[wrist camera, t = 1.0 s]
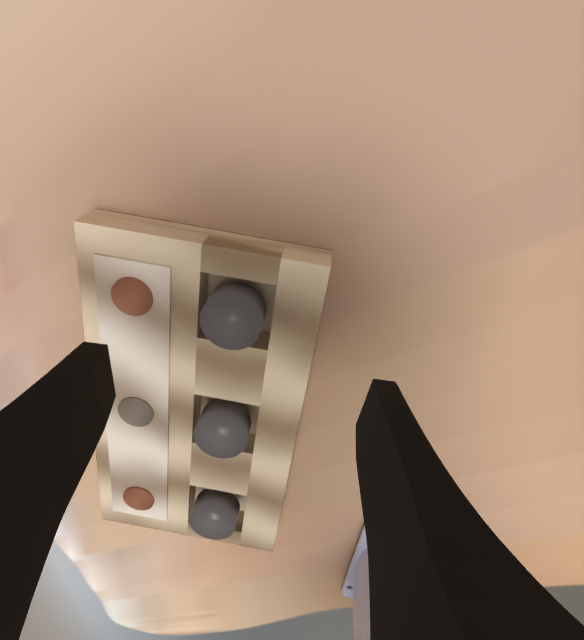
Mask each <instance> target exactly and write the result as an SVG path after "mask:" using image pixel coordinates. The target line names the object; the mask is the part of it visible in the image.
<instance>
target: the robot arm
mask: <svg viewBox="0 0 584 640" xmlns="http://www.w3.org/2000/svg"><path fill="white" fill-rule="evenodd" d="M115 397H116V392H115V386H114V380H113V374H112V368H111V362H110V356H109V350H108V345H107V344H99V343H91V342H83V343H82V344H80V345H79V346H78V347H77V348H76V349H75V350H73V351H72V352H71V353H70V354H69V355H68V356H66V357H65V358H64V359H63V360H62V361H61V362H60V363H58V364H57V365H56V366H55V367H54V368H53V369H51V370H50V371H49V372H48V373H47V374H46V375H44V376H43V377H42V378H41V379H40V380H38V381H37V382H36V383H35V384H33V385H32V386H31V387H30V388H29V389H27V390H26V391H25V392H24V393H22V394H21V395H20V396H19V397H18V398H16V399H15V400H14V401H13V402H11V403H10V404H9V405H7V406H6V407H5V408H3V409H2V410H1V411H0V640H19V637H20V634H21V631H22V628H23V625H24V622H25V619H26V615H27V613H28V610H29V607H30V604H31V600H32V598H33V595H34V592H35V589H36V587H37V583H38V581H39V578H40V575H41V572H42V569H43V567H44V564H45V561H46V558H47V556H48V553H49V550H50V548H51V545H52V542H53V540H54V537H55V534H56V532H57V529H58V527H59V524H60V522H61V519H62V517H63V515H64V513H65V510H66V508H67V506H68V504H69V502H70V500H71V498H72V496H73V494H74V492H75V490H76V488H77V485H78V483H79V481H80V479H81V477H82V475H83V473H84V471H85V469H86V467H87V465H88V463H89V461H90V459H91V457H92V455H93V453H94V451H95V449H96V447H97V445H98V442H99V440H100V438H101V436H102V434H103V432H104V430H105V427H106V424H107V421H108V418H109V416H110V413H111V410H112V407H113V403H114V400H115ZM356 462H357V471H358V479H359V487H360V494H361V502H362V509H363V517H364V524H365V525H364V526H363V529H362V532H361V535H360V538H359V541H358V543H357V546H356V549H355V552H354V555H353V558H352V560H351V563H350V566H349V569H348V572H347V575H346V577H345V580H344V583H343V586H342V589H341V594H342V595H343V596H344V597H348V598H353V640H584V626H583V625H582V624H581V623H580V622H579V621H578V620H577V619H576V618H574V617H573V616H572V615H571V614H570V613H569V612H568V611H567V610H566V609H565V608H564V607H563V606H562V605H561V604H560V603H559V602H558V601H557V600H555V598H554V597H553V596H552V595H551V594H550V593H549V592H548V591H547V590H546V589H545V588H544V587H543V586H542V585H541V584H540V583H539V582H538V581H537V580H536V579H535V578H534V577H533V576H532V575H531V574H530V573H529V572H528V571H527V570H526V568H525V567H524V566H523V565H522V564H521V563H520V562H519V561H518V560H517V558H516V557H515V556H514V555H513V554H512V553H511V552H510V551H509V550H508V548H507V547H506V546H505V545H504V544H503V543H502V542H501V541H500V540H499V538H498V537H497V536H496V535H495V534H494V532H493V531H492V530H491V529H490V528H489V526H488V525H487V524H486V523H485V522H484V520H483V519H482V518H481V516H480V515H479V514H478V513H477V511H476V510H475V509H474V507H473V506H472V505H471V504H470V502H469V501H468V500H467V498H466V497H465V495H464V494H463V493H462V491H461V490H460V489H459V487H458V486H457V484H456V483H455V481H454V480H453V478H452V477H451V476H450V474H449V473H448V471H447V470H446V468H445V467H444V465H443V464H442V462H441V460H440V459H439V457H438V456H437V454H436V453H435V451H434V449H433V448H432V446H431V444H430V443H429V441H428V439H427V438H426V436H425V434H424V433H423V431H422V429H421V428H420V426H419V424H418V422H417V421H416V419H415V417H414V415H413V413H412V412H411V410H410V408H409V406H408V404H407V402H406V400H405V399H404V397H403V395H402V393H401V391H400V389H399V387H398V385H397V384H396V383H395V382H393V381H385V380H378V379H373V381H372V383H371V386H370V389H369V391H368V394H367V397H366V399H365V402H364V405H363V407H362V410H361V413H360V415H359V418H358V421H357V423H356Z"/></svg>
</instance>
